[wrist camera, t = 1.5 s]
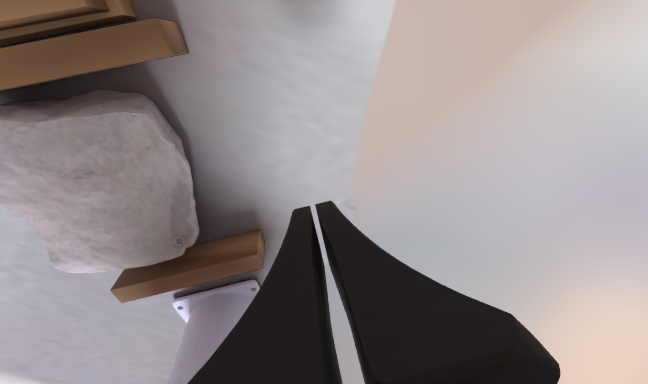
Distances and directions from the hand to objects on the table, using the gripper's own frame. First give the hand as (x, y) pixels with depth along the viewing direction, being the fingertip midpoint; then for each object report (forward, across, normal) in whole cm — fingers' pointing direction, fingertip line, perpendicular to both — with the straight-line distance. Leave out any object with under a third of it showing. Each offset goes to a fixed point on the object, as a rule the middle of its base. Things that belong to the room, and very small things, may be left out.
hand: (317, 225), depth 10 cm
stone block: (+10, +12, 0) cm, 16 cm away
